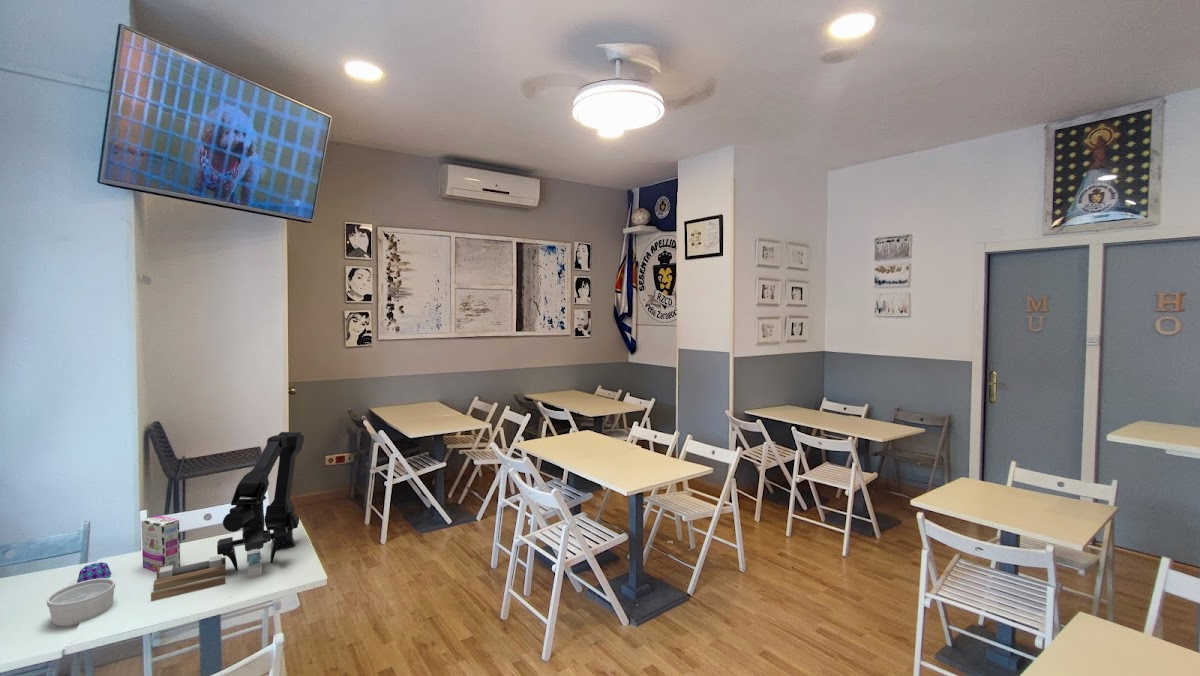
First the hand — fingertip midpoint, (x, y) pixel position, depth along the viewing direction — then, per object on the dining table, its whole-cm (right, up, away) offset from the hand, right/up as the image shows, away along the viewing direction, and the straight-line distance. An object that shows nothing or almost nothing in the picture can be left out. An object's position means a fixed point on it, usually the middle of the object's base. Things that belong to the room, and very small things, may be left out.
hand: (254, 566), depth 170 cm
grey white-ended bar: (-15, 0, -6) cm, 16 cm away
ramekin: (-30, -3, -25) cm, 39 cm away
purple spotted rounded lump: (-43, -2, -9) cm, 43 cm away
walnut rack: (-13, -2, -9) cm, 16 cm away
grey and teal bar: (0, -1, 0) cm, 1 cm away
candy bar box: (-28, -1, -1) cm, 28 cm away
